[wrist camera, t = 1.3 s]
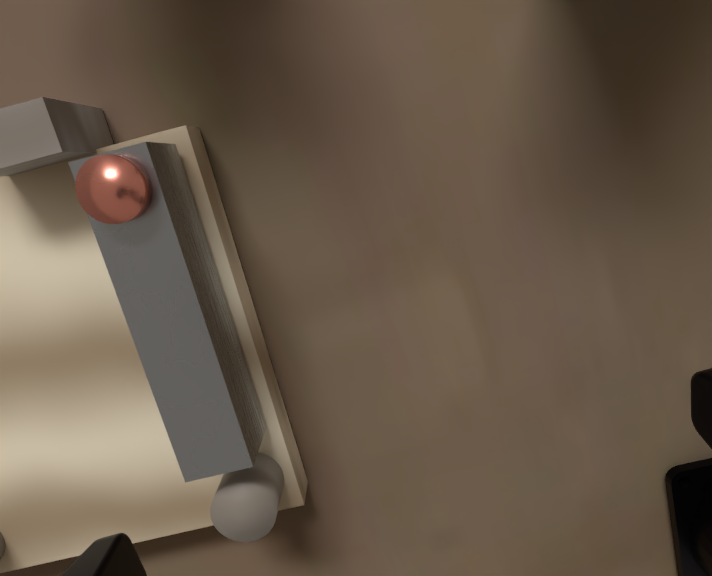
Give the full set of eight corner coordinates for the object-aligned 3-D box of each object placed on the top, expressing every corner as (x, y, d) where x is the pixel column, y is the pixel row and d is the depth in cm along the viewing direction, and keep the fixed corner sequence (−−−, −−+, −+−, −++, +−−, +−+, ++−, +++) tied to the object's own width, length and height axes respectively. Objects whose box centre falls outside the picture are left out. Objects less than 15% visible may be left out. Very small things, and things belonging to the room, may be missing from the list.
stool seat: (307, 481, 22) (298, 543, 18) (-19, 555, 23) (-88, 628, 19) (185, 85, 18) (145, 68, 15) (-194, 189, 19) (-318, 196, 16)
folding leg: (108, 161, 17) (56, 162, 14) (175, 144, 17) (136, 141, 14) (206, 442, 19) (179, 494, 16) (266, 427, 19) (249, 477, 16)
